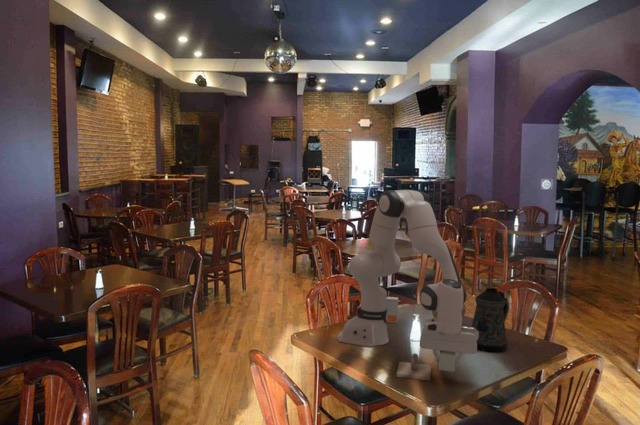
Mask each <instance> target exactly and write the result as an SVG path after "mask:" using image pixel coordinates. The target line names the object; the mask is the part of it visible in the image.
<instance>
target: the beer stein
mask: <svg viewBox="0 0 640 425" xmlns="http://www.w3.org/2000/svg"><path fill="white" fill-rule="evenodd" d="M505 296H506V295H505V293H504V292H503V291H500V290H498V289H497V288H494V287H486V289H485V290H484V291H483V292H482V293H480V294H478V295H477V296H476V297H475V299H474V300H475V303H476V306H475V309H474V310H475V311H474V315H473V320H472V323H471V325H470V326H471V327H470V328H475V329H476V330H478V332H479V338H478V340H477V352H478V351H479V352H483V353H492V354H493V353H494V354H495V353H496V354H497V353H503V352H504V351H506V349H507V346H508V344H509V343H508V338H507V335H506V324H505V323H506V321H507V320H506V319H507V318H508V314H509V310H510V303H509V300H508V298H507V297H505ZM476 330H475V331H476Z"/></svg>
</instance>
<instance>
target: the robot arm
mask: <svg viewBox="0 0 640 425" xmlns="http://www.w3.org/2000/svg"><path fill="white" fill-rule="evenodd" d="M401 218H404V219H405V220H406V224H407V228H408V229H407V230H408V235H409V241H410V243H411V245H412V246H413V248H414V249H415V250H417V251H418V252H420V253H421V254H426V255H427V256H430V257H431V258H434V259H435V260H436V261H437V263H438V265H439V268H440V270H441V274H442V277H443V279H442V280H440V282H439V281H438V282H437V283H432V284H427V285H423V286H422V288H421V289H420V292H419V301H420V302H419V303H420V305H421V306H422V307H423V308H424V309H425V310H427V311H431V312H432V311H437V313H438V314H437V318H434V317H432V318H428V319H425V321H424V323H423V325H424V326H423V328H422V330H421V334H420V338H419V347H420V348H421V349H424V350H426V349H427V350H432V353H433V356H434V357H435V362H436V363H439V359H440V355H438V354H437V352H438V351H440V350H442V351H450V352H455V353H458V356H457V357H455V365H459V363H460V360H461V359H462V357H463V356H464V355H463V354H469V355H476V354H477V352H478V350H477V340H478V338H479V332H478V330H476V329H475V328H471V327H468V326H463V319H462V309H463V305H464V304H465V303H466V301H467V291H466V289H465V287H464V284H463V283H462V280H461V279H460V278H461V277H460V275H459V272H458V269H457V267H456V263H455V261H454V256H453V254H452V252H451V251H452V250H451V249H450V246H449V245H448V243H447V242H446V241H444V239H443V238H442V236H441V234H440V231H439V228H438V224H437V219H436V216H435V212H434V210H433V208H432V205H431V203H430V198H429V196H428V194H427V193H426V192H424V191H421V190H417V189H416V190H412V189H398V190H394V189H391V190H386V191H383V192H382V193H381V194H380V196H379V198H378V202H377V206H376V209H375V212H374V215H373V218H372V223H371V228H370V231H369V234H368V239H369V241H370V242H371V243H372V244H373V245H374V250H373V251H372V252H366V253H365V252H364V253H360V254H357V255H355V256H353V257H351V259H350V260H349V263H348V270H349V272H350V275H351V276H352V277H353V278H354V279H355V280H356V281H357V282H358V285H359V288H360V305H358V306H356V312H355V316H354V317H352V318H351V319H348V320H347V321H346V322H345V324H344V325H343V329H342V331H340V332H339V333H338V334H337V337H336V338H337V341H338V342H339V343H344V344H345V343H346V344H350V345H355V346H357V345H358V346H362V347H367V348H373V347H375V346H382V345H386V344H388V343H389V342H390V339H389V336H388V328H387V323H388V322H387V309H386V304H387V297H388V293H387V290H386V289H385V288H384V287H382V286H381V285H380V281H379V278H383V277H384V278H385V277H389V276H391V275H392V276H393V275H394V274H396V273H398V272H399V271H400V269H401V264H402V262H401V259H400V256H399V254H397V252H396V248H395V245H396V238H397V233H398V230H399V226H400V221H401ZM475 330H476V331H475Z"/></svg>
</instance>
